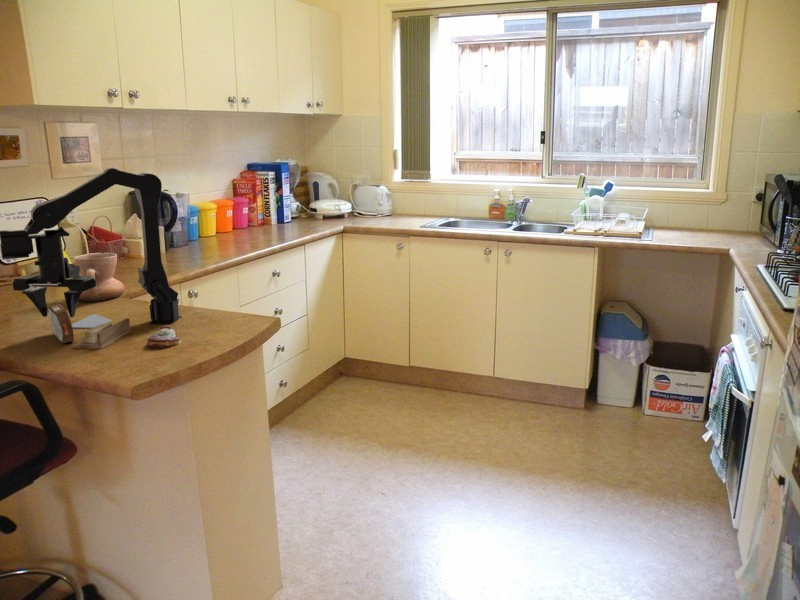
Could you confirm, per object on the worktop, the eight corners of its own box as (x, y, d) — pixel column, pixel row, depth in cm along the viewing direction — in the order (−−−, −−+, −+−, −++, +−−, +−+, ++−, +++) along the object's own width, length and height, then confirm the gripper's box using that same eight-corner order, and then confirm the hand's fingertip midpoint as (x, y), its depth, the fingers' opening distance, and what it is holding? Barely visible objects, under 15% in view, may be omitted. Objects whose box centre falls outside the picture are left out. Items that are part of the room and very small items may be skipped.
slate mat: (133, 311, 193) (133, 309, 193) (98, 328, 175) (97, 327, 175) (104, 310, 194) (104, 309, 194) (66, 328, 176) (66, 326, 176)
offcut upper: (112, 327, 168) (111, 323, 168) (94, 336, 161) (94, 332, 160) (102, 327, 169) (102, 323, 168) (84, 336, 161) (84, 332, 161)
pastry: (186, 341, 164) (184, 322, 162) (174, 350, 156) (172, 330, 155) (154, 341, 164) (152, 322, 163) (141, 350, 157) (139, 330, 156)
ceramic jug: (85, 294, 216) (80, 251, 212) (131, 292, 218) (126, 250, 214) (66, 307, 198) (60, 261, 195) (116, 305, 200) (111, 259, 197)
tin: (76, 345, 161) (71, 311, 159) (62, 347, 160) (57, 314, 158) (63, 331, 173) (59, 300, 171) (50, 334, 171) (45, 302, 169)
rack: (130, 332, 171) (129, 318, 171) (101, 348, 158) (99, 333, 157) (105, 331, 172) (103, 317, 171) (74, 348, 159) (72, 333, 158)
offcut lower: (115, 331, 170) (114, 326, 169) (93, 342, 160) (93, 338, 160) (104, 331, 170) (103, 326, 170) (82, 342, 160) (81, 337, 160)
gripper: (104, 250, 168) (111, 309, 172) (35, 249, 170) (44, 308, 173) (79, 257, 157) (87, 320, 161) (6, 257, 159) (15, 319, 163)
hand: (58, 316), depth 165 cm, fingers open, 7 cm apart
